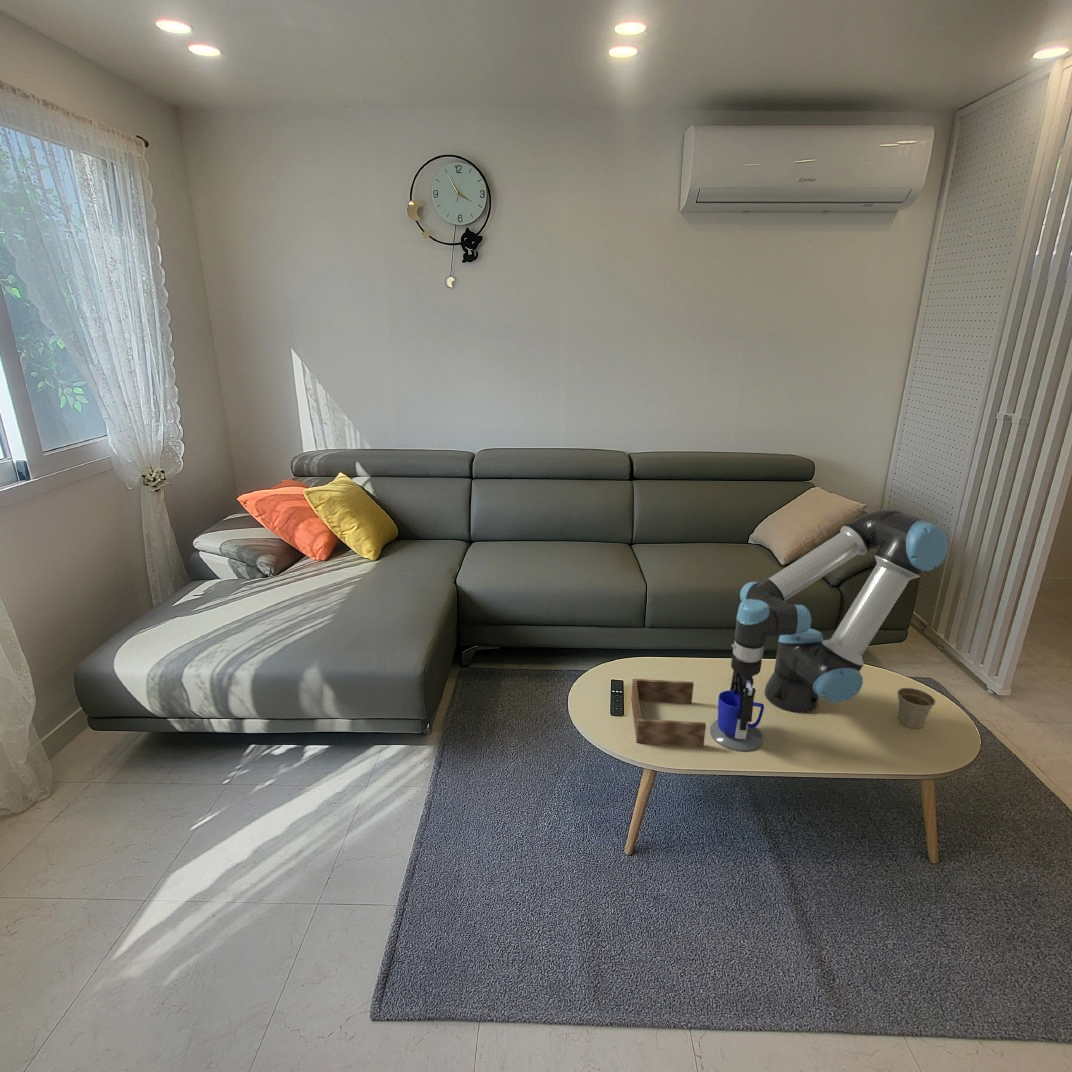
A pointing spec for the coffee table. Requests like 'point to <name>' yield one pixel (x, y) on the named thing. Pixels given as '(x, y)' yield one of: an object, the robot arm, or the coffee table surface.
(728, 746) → the grey round disc
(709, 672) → the coffee table surface
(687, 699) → the u-shaped wooden frame
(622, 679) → the coffee table surface
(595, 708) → the coffee table surface
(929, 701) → the flower pot
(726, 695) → the mug
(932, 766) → the coffee table surface
